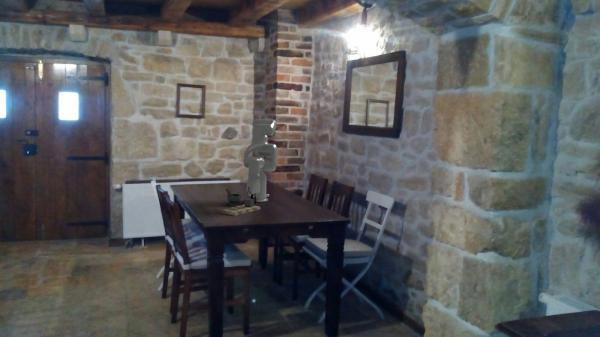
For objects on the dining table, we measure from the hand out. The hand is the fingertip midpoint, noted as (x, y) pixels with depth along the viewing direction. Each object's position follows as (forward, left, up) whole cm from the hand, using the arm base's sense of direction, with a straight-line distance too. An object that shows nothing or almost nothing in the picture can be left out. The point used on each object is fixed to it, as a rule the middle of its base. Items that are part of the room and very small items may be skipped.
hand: (253, 203), depth 328 cm
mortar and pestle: (0, -18, -4) cm, 18 cm away
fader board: (+13, 0, -3) cm, 13 cm away
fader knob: (+4, 0, -1) cm, 4 cm away
